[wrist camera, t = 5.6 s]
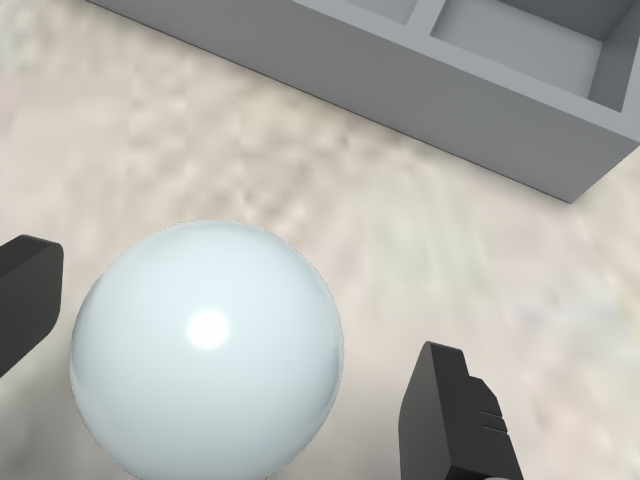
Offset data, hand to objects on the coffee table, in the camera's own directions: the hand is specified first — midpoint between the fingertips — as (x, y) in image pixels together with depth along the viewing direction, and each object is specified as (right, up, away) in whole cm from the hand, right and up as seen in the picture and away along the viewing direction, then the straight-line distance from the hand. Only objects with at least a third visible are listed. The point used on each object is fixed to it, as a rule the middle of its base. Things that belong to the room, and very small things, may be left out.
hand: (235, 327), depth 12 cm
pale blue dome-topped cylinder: (-1, -3, +4) cm, 5 cm away
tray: (+3, +11, +10) cm, 15 cm away
